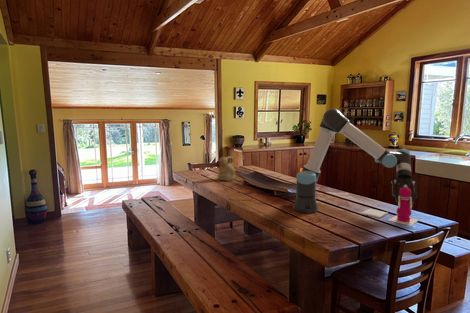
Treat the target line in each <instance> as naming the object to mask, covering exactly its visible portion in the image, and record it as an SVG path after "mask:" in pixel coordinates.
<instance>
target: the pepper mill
mask: <svg viewBox="0 0 470 313" xmlns="http://www.w3.org/2000/svg"><path fill="white" fill-rule="evenodd" d="M410 195H411V190H410V189H409V188H407V185H404V187H401V189H400V190H399V196H400V208H398V207H397V209H396V214H397V220H399V221H402V222H409V221H410V218H411V215H412V209H410V201H409V200H410Z"/></svg>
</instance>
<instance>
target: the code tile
mask: <svg viewBox="0 0 470 313" xmlns="http://www.w3.org/2000/svg"><path fill="white" fill-rule="evenodd" d="M397 216H398V214H397V215H394V216H392V217H391V218H389V219H387V221H389V222H393V223H396V224H401V225H406V226H410V227H411V226H413V225H415V224H416V223H418V222H419V221H420V220H419V219H416V218H411V217H410V221H409V222H402V221H399V220H397Z"/></svg>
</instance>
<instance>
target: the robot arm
mask: <svg viewBox="0 0 470 313" xmlns="http://www.w3.org/2000/svg"><path fill="white" fill-rule="evenodd" d="M319 129H320V130H319V133H318V135H317V138H316V140H315V143H314V145H313V148H312V150H311V152H310V155H309V158H308V160H307V163H306V164H304V165H303V166H302V167H301V168H302V171H301V172H300V171H299V172H298V173H297V174H296V177H295V179H296V188H295V189H296V192H295V193H296V196H295V199H294V201H293V202H294V203H293V206H292V209H293V210H294V211H295V212H297V213H303V214H312V213H316V212H318V211H319V205H318V203H317V199H316V191H317V190H316V189H317V188H316V187H317V183H318V180H319V177H320V175H321V173H322V171H321V169H320V168H321V166H322V164H323V161H324V159H325V157H326V154H327V152H328V149H329V146H330V144H331V143H332V139H333V137H334V135H335V134H337V133H338V134H341V135H343V136H345V137H346V138H347V139H348V140H350V141H351V142H352V143H353V144H356V146H358V147H359V148H361V149H362V150H363V151H365V153H367V154H369V156H372V157H373V158H374V162H375V163H379V164H381V165H383V166H384V167H385V168H394V167H395V166H396V179H391V182H390V183H391V196H392V197H395V203H397V208H400V201H401V200H400V196H401V195H400V194H399V190H400V189H401V188H404V185H407V188H409V189H410V190H411V195H410V196H409V197H410V200H409V207H410V209H411V210H412V208H413V204H414V203H415V199H417V198H418V180H415V181H414V180H413V179H412V164H411V162H412V161H411V158H412V157H411V152H410V150H408V149H407V148H401V149H397V150H396V151H389V150H387V149H386V148H385V147H384V146H382V145H381V144H379V143H378V142H376V140H374V139H372V138H371V136H368V135H367V134H366V133H364V132H363V131H362V130H360V129H359V128H358V127H356V126H355V125H354V124H352V123H351V122H350V119H349V118H347V117H346V116H345V115H344V114H343V113H342V111H340V110H339V109H337V108H329V109H327V110H326V111H324V114H323V115H322V119H321V121H320V124H319ZM396 184H397V185H398V187H397V189H396ZM411 184H412V185H413V189H412V186H411Z"/></svg>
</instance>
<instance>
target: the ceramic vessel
mask: <svg viewBox="0 0 470 313" xmlns="http://www.w3.org/2000/svg"><path fill="white" fill-rule="evenodd" d="M233 155H234V152H233V151H229V156H226V157H225V156H221V157H219V160H218V161H219V167H218V172H219V173H218V175H217V179H218V180H220V181H226V182H229V181H234V180H235V178H236V177H235V176H236V169H235V167H234V163H235V162H234V161H235V160H234V156H233ZM229 160H230V162H229Z"/></svg>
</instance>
